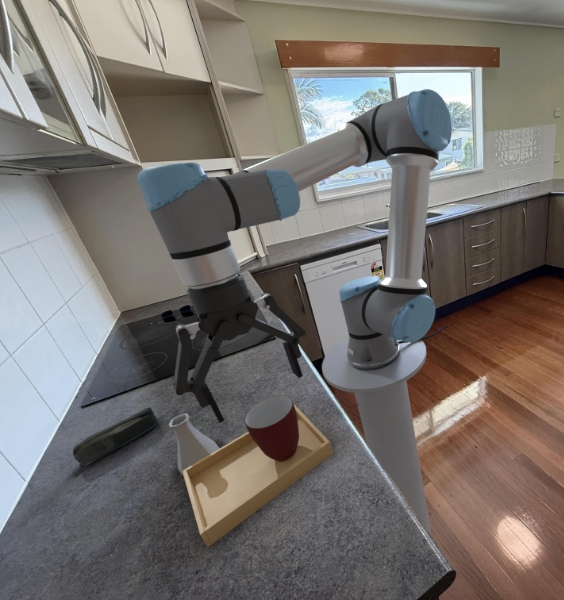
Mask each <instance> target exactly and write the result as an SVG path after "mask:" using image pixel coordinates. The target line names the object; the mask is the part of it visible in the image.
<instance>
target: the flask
mask: <svg viewBox="0 0 564 600" xmlns="http://www.w3.org/2000/svg"><path fill="white" fill-rule="evenodd" d="M168 426H169V428H170V429H171V430H173V431H174V433H175V438H176V442H177V443H176V444H177V445H176V446H177V447H176V448H177V470H178V471H179V473H180V474H181V476H183V477H184V475H183V472H182V471H183V470H185V469H186V468H188V467H190V466H191V465H193V464H195V463H196V462H198V461H200V460H201V459H203V458H205V457H206V456H208V455H210V454H211V453H213V452H215V451H217V450H218V449H220V448H221V447H219V445H218V444H217V443H216V442H215V441H214V440H212V439H211V438H209V437H208V436H206V435H204V434H203V433H202V432H200V431H199V430H198V429H197V428H195V427H194V425H193V424H192V423H191V421H190V416H189V414H188V413H187V412H186V413H182V414H178V415H177V416H175V417H173V418H171V420H170V421H169V423H168Z"/></svg>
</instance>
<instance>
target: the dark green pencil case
mask: <svg viewBox="0 0 564 600" xmlns="http://www.w3.org/2000/svg"><path fill="white" fill-rule="evenodd" d="M158 424H159V420H158V419H157V417H156V415H155V413H154V410H153V409H152V407H145V408H144V409H141V410H140V411H138V412H136V413H134V414H132V415H130V416H127V417H125V418H124V419H121V420H120V421H118V422H116V423H114V424H112V425H110V426H107V427H105V428H104V429H101V430H98V431H97V432H94V433H93V434H90V435H88V436H87V437H86V438H84V439H83V440H82V441H80V442H79V443H77V444H76V445H75V446H74V448H73V449H72V455H73V457H74V459H75V460H76V461H77V462H78V463H79V466H78V467H76V468H74V469H72V471H71V473H72V474H76V473H78V472H79V471H80V470H82V469H85V468H86V467H88V466H89V465H91V464H93V463H94V462H96V461H99V460H100V459H102V458H103V457H106V456H107V455H109V454H111V453H113V452H114V451H117V450H118V449H120V448H121V447H123V446H125V445H128V444H129V443H131V442H133V441H135V440H137V439H138V438H140V437H142V436H144V435H145V434H147V433H149V432H150V431H153V430H154V429H155V428H156V427H157V426H158Z"/></svg>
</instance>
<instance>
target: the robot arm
mask: <svg viewBox="0 0 564 600" xmlns="http://www.w3.org/2000/svg"><path fill="white" fill-rule="evenodd" d="M452 137H453V120H452V116H451V112H450V110H449V108H448V106H447V103H446V101H445V100H444V98H443V97H442V95H440V94H439V93H438V92H437V91H435V90H433V89H429V88H425V89H421V90H417V91H415V90H414V91H410V93H408V94H405V95H403V96H401V97H398V98H395V99H392V100H389V101H386V102H383V103H380V104H378V105H376V106H374V107H372V108H370V109H368V110H367V111H365V112H363V113H361V114H360V115H358V116H356V117H355V118H353V119H351V120H349V121H346V122H344V123H342V124H340V126H339V127H338V129H337V131H336V132H333V133H329V134H328V135H325V136H322V137H320V138H318V139H315V140H313V141H311V142H308V143H305V144H303V145H300V146H299V147H296V148H293V149H291V150H288V151H286V152H284V153H280V154H279V155H276V156H273V157H271V158H268V159H266V160H264V161H261V162H259V163H256V164H254V165H251V166H249V167H246V168H244V169H242V170H240V171H237V172H235V173H232V174H229V175H225V176H224V175H223V176H208V174H207V173H206V172H205V170H204V168H203V166H202V165H200V163H198V162H184V163H183V162H179V163H169V164H161V165H155V166H150V167H146V168H143V169H142V170H140V171H139V172H138V174H137V177H136V180H137V183H138V185H139V189H140V191H141V193H142V196H143V198H144V201H145V203H146V206H147V211H148V213H149V214H150V216H151V218H152V220H153V222H154V224H155V226H156V229H157V231H158V233H159V235H160V237H161V239H162V240H163V244H164V245H165V248H166V249H167V251H168V253H169V257H170V258H171V261H172V263H173V265H174V268H175V270H176V272H177V274H178V276H179V278H180V280H181V283H182V285H183V286H185V287H188V288H187V290H186V293H187V296H188V298H189V300H190V303H191V304H192V307H193V308H194V309H193V310H194V311H195V314H196V315H197V319H196V321H195V322H193V323H188V324H183V323H179V324H177V325H175V332H176V335H177V338H178V345H177V351H176V352H177V353H176V361H175V368H174V374H173V375H174V377H173V383H172V385H173V390H174V392H175V394H176V396H183V395H184V394H187V393H192V394H193V396H194V397H195V398H196V401H197V402H198V404H199V406H200V407H201V408H202V409H204V408H207V407H208V406H210V408H211V409H212V412H213V413H214V415H215V417H216V419H217V421H218V423H219V424H220V423H222V422H224V421H225V418H224V416H223V414H222V412H221V410H220V408H219V406H218V404H217V401H216V399H215V398H214V395H213V394H212V392H211V390H210V388H209V385H208V384H207V382H206V378H207V376H208V374H209V371H210V369H211V366H212V364H213V361H214V360H215V357H216V355H217V352H218V350H219V349H220V348H221V346H222V343H223V341H227V342H229V341H230V342H231V341H232V340H234V339H236V338H237V337H238V336H243V335H246V334H249V333H250V330H251V329H252V328H254V329H256V330H258V331H261V332H264V333H266V334H268V335H271V336H273V337H275V338H278V339H280V340H281V341H284V342H283V343H282V346H283V348H284V351H285V355H286V358H287V360H288V363H289V365H290V369H291V371H292V373H293V375H295V376H296V377H297V378H298V379H301V378H302V377H303V376H304V375H303V372H302V369H301V366H300V362H299V360H298V359H300V358H301V357H302V352H301V349H300V346H299V344H300V338H302V337H304V336H306V333H307V332H306V330H305V329H304V328H302V326H300V325H299V323H297V322H296V321H295V320H294V319H292V317H290V316H289V315H288V314H287V313H286V312H285V311H284V310H283V309H282V308H281V307H279V305H278V303H277V302H276V299H275V298H274V296H273V295H271V294H270V293H267V292H263V293H262V294H261V296H260V297H258V298H257V299H256V298H255V299H254V300H253V298H252V296H251V294H250V291H249V288H248V286H247V282H246V280H245V278H244V275H242V274H241V273H239V272H240V271H241V266H240V264H239V262H238V259H237V257H236V254H235V252H234V248H233V246H232V243H231V240H230V238H229V234H228V233H230V232H235V231H238V230H241V229H246V228H250V227H251V228H252V227H254V226H259V225H263V224H267V223H273V222H276V221H279V222H281V221H282V220H285V219H288V218H290V217H295V216H296V215H297V213H298V212H299V210H300V208H301V195H300V192H302V191H304V190H305V189H308V188H309V187H313V185H316V184H318V183H320V182H322V181H324V180H325V179H328V178H330V177H332V176H335V175H336V174H338V173H340V172H342V171H344V170H346V169H349V168H350V167H355V168H360V167H363V166H365V165H366V164H370V163H373V162H378V161H384V160H385V161H386V163H387V164H388V166H390V168H391V181H390V196H389V212H388V213H389V214H388V227H387V229H388V230H387V242H386V243H387V245H386V257H385V258H386V260H385V261H386V262H385V274H384V276H383V277H382V278H381V277H380V276H378V275H377V276H376V275H372V276H371V275H370V276H365V277H364V276H363V277H361V278H360V277H359V278H356V279H354V280H351V281H349V282H346V283H345V284H344V285H342V286H341V287H340V289H339V302H340V303H341V309H342V311H343V315H344V316H343V317H344V320H345V325H346V328H347V333H348V338H349V343H348V346H347V357H348V362H349V364H350V365H351V366H352V367H354V368H356V369H359V370H376V369H380V368H383V367H385V366H388V365H389V364H391V363H393V362H394V361H395V360H396V359H397V358H398V356H399V354H400V348H399V344H401V343H408V342H415V341H419V340H422V341H423V340H427V339H430V338H433V337H435V336H437V335H438V334H440V333H441V332H442V331H444V330H445V329H446V328H447V326H446V325H444V326H442V327H441V328H440V329H438V330H437V331H436V332H434V333H432V334H429V335H426V334H427V333H428V332H429V330H430V329H431V327H432V325H433V323H434V320H435V316H436V305H435V303H434V300H433V298H431V297H430V296H429V295H428V294H427V293H428V285H427V283H426V282H425V281H424V280H423V278H422V276H423V266H424V265H423V264H424V263H423V262H424V252H425V241H426V229H427V217H428V207H429V193H430V181H431V172H432V171H433V170H434V169H435V168H436V167H437V166H438V165H439V157H440V152H443V151H444V150H445V149H446V148H448V146H449V145H450V143H451V140H452ZM260 307H261V308H262V309H263V310H269V312H270V313H271V314H273V315H274V316H275V317H276V318H277V319H279V320H280V321H281V322H282V323H283V324H284V325H286V326H287V327H288V328H289V329H290V330H292V331H291V332H290V333H289V332H287V331H285V330H283V329H281V328H278V327H276V326H274V325H272V324H270V323H267V322H265V321H263V320H261V319H259V318H258V317H257V313H258V311H259V308H260ZM199 331H201V332H204V333H206V334H207V336H206V338H205V341H204V342H205V343H204V345H203V348H202V350H201V351H200V354H199V356H198V360H197V361H196V364H195V367H194V369H193V371H192V373H191V375H190V378H188V377H189V372H190V371H189V370H190V364H191V363H190V362H191V355H192V347H193V346H192V345H193V342H192V341H193V340H194V339H195V338H196V337H197V332H199ZM397 340H401V341H397Z"/></svg>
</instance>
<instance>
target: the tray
mask: <svg viewBox="0 0 564 600" xmlns="http://www.w3.org/2000/svg"><path fill="white" fill-rule="evenodd" d="M294 407H295V409H296V413H297V419H298V428H299V441H298V445H297V449H296V451H295V453H294V455H293V456H292V457H291V458H289V459H288V460H285V461H276V460H274V459H271V458H269V457H268V456H266V455H265V454H264V453H263V452H262V450H261V449H260V448H259V447H258V445H257V444H256V443H255V441H254V440H253V439H252V437H251V436H250V434H249V432H248V431H247V432H245V433H244V434H242V435H240V436H239V437H237V438H235V439H233V440H232V441H230V442H228V443H227V444H225V445H223V446H221V447H219V448H220V449H218V450H217V451H215V452H213V453H211V454H210V455H208V456H206V457H205V458H203V459H201V460H200V461H198V462H196V463H195V464H193V465H191V466H190V467H188V468H186V469H185V470H183V471H182V472H183V475H184V476H183V479H184V482H185V486H186V490H187V493H188V496H189V500H190V502H191V507H192V512H193V514H194V519H195V522H196V525H197V529H198V533H199V535H200V537H201V539H202V540H203V542H204V544H205V545H206V547H207V548H210V546H213V544H215V543H216V542H218V541H219V540H220V539H221V538H223V537H224V536H225V535H227V534H228V533H229V532H231V531H233V530H234V529H235V528H236V527H237V526H239V525H240V524H241V523H243V522H244V521H245V520H247V519H248V518H249V517H251V516H252V515H254V514H255V513H256V512H257V511H259V510H260V509H261V508H263V507H264V506H266V505H267V504H268V503H269V502H271V501H272V500H274V499H275V498H276V497H277V496H279V495H280V494H282V493H283V492H284V491H285V490H287V489H288V488H289V487H291V486H292V485H294V484H295V483H296V482H298V481H299V480H300V479H301V478H303V477H304V476H305V475H307V474H308V473H309V472H311V471H312V470H314V469H315V468H316V467H317V466H319V465H320V464H322V463H323V462H325V460H327V459H329V457H331V456H332V455H334V451H333V448H332V446H331V445H332V444H331V442H330V440H329V439H328V438H327V437H326V436H325V435H324V434H323V433H322V431H320V430H319V429H318V428H317V427H316V426H315V424H314V423H313V422H312V421H311V420H309V418H308V417H307V416H306V415H305V414H304V413H303V412H302V411H301V410H300V408H299V407H297V406H296V405H295V404H294Z"/></svg>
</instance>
